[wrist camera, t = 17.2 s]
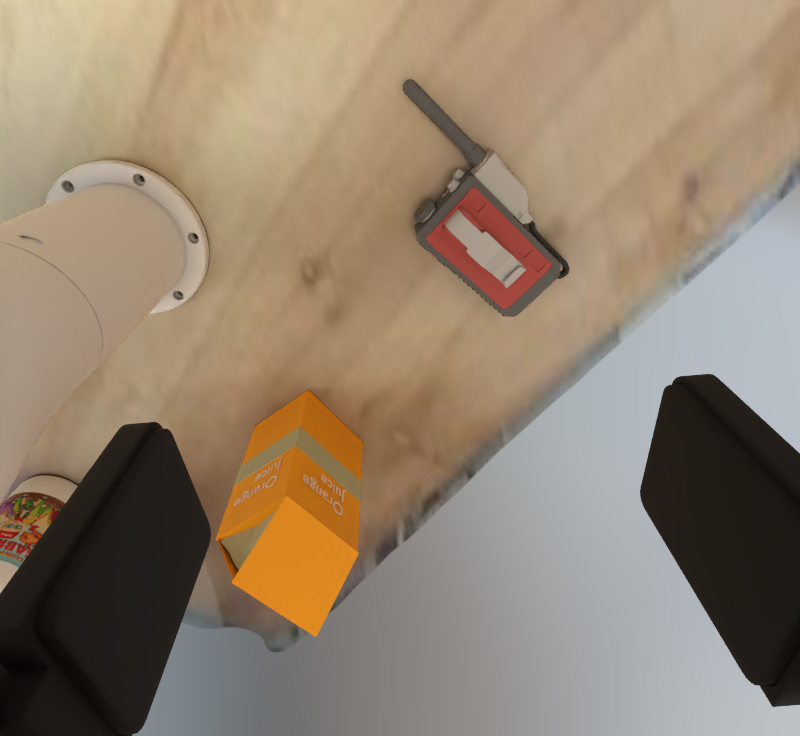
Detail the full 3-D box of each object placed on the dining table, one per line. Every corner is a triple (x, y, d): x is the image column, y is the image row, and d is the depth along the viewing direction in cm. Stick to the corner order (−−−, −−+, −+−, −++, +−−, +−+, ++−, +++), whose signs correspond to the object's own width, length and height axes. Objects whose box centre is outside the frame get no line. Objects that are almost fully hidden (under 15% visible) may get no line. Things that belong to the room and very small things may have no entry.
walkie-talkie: (583, 247, 43) (414, 68, 36) (603, 264, 39) (418, 68, 32) (508, 317, 46) (338, 166, 39) (519, 339, 42) (334, 176, 35)
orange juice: (310, 475, 56) (279, 656, 39) (253, 426, 52) (191, 603, 35) (364, 441, 53) (357, 617, 36) (309, 388, 50) (271, 557, 32)
